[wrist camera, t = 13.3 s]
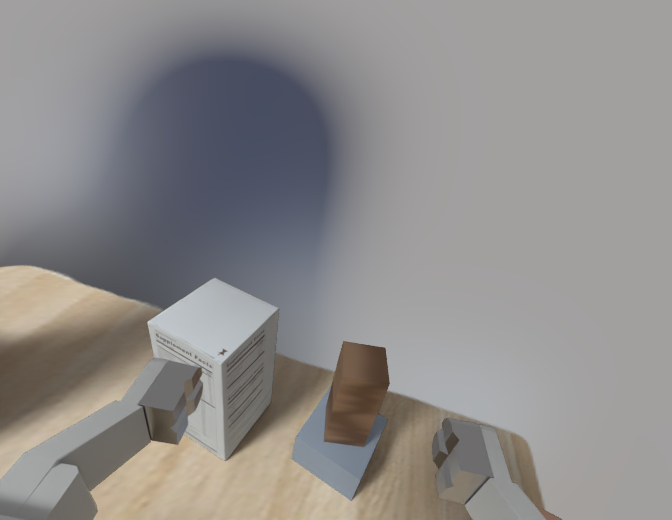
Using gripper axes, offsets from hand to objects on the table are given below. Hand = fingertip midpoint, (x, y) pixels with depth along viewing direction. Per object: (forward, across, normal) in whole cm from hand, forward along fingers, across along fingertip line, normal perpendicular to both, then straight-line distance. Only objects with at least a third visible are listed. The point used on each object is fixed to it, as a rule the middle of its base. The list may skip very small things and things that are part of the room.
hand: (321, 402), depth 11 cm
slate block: (+16, -5, +32) cm, 36 cm away
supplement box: (+17, +11, +32) cm, 38 cm away
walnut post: (+16, -5, +27) cm, 31 cm away
